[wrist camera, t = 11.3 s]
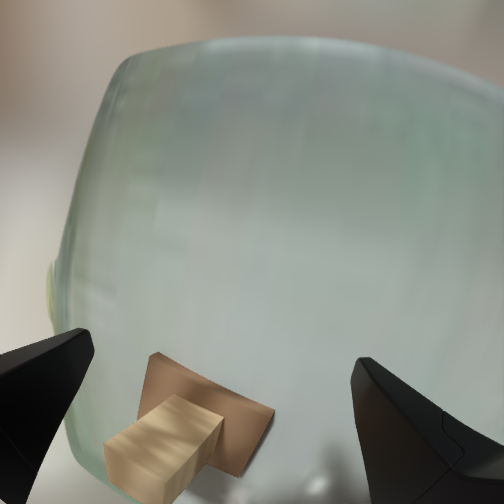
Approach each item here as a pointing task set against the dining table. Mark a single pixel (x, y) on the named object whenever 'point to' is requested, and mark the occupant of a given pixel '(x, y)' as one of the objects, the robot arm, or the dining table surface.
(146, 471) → the oak pillar
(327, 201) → the dining table surface
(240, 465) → the walnut slab
